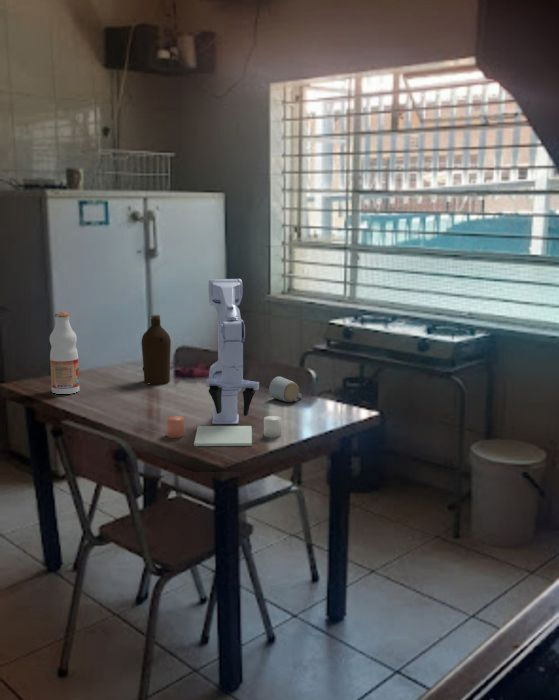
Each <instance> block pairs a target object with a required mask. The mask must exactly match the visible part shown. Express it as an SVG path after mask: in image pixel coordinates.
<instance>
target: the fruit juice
mask: <svg viewBox="0 0 559 700" xmlns="http://www.w3.org/2000/svg"><path fill="white" fill-rule="evenodd" d="M70 315H71V314H70V312H65V311H64V312H62V311H61V312H55V314H54V318H55V324H54V328H53V329H52V332H51V333H50V335H49V343H50V346H51V348H50V351H49V361H50V362H49V363H50V377H51V378H50V380H51V392H52V394H53V393H56V394H71V393H75V394H77V393H76V392H78V391H79V392H80V372H79V371H80V368H79V365H80V364H79V352H78V351H79V350H78V349H77V343H78V337H77V334H76V332H75V331H74V330H73V329H72V325H71V323H70V320H69V319H70V317H71V316H70ZM79 392H78V393H79ZM56 394H55V395H56ZM71 395H72V394H71Z"/></svg>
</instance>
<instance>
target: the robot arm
mask: <svg viewBox="0 0 559 700" xmlns="http://www.w3.org/2000/svg"><path fill="white" fill-rule="evenodd" d="M243 288H244V287H243V281H242V279H241V278H210V279H209V280H208V303H209V306H211V307H213V308H215V310H216V313H217V353H218V354H217V358H218V360H217V361H215V362H214V363H213V364H212V365H210V366H209V367H210V368H209V373H208V378H207V379H206V380H205V387H206V388H209V389H208V394H209V395H210V396H211V398H212V401H213V414H212V415H213V416H212V422H211V423H212V425H238V424H239V423H240V422H239V420H240V419H239V418H240V414H239V413H238V395H239V392H241V391H242V390H243V389H244V390H243V391H242V397H243V398H242V399H243V416H248V414H249V411H250V410H249V409H250V406H251V403H252V399H253V398H254V395H255V392H257V391H258V390H259V389H260V381H253V380H248V379H244V342H245V338H246V326H245V322H244V320H243V319H242V317H241V311H240V308H239V307H238V306H240V304H241V302H242V298H243V291H244V290H243Z"/></svg>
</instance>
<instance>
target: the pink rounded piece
mask: <svg viewBox="0 0 559 700" xmlns="http://www.w3.org/2000/svg"><path fill="white" fill-rule="evenodd" d="M166 436H167V437H168V438H171V439H177V438H179V439H180V438H183V437H185V417H183V416H180V415H178V416H177V415H175V416H168V417H167V418H166ZM182 436H183V437H182Z"/></svg>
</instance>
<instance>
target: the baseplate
mask: <svg viewBox="0 0 559 700" xmlns="http://www.w3.org/2000/svg"><path fill="white" fill-rule="evenodd" d="M252 427H253V426H252V425H197V429H196V432H195V437H194V442H193V446H194V447H252V446H253V435H252V434H253V433H252V432H253V431H252V430H253V428H252Z"/></svg>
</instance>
